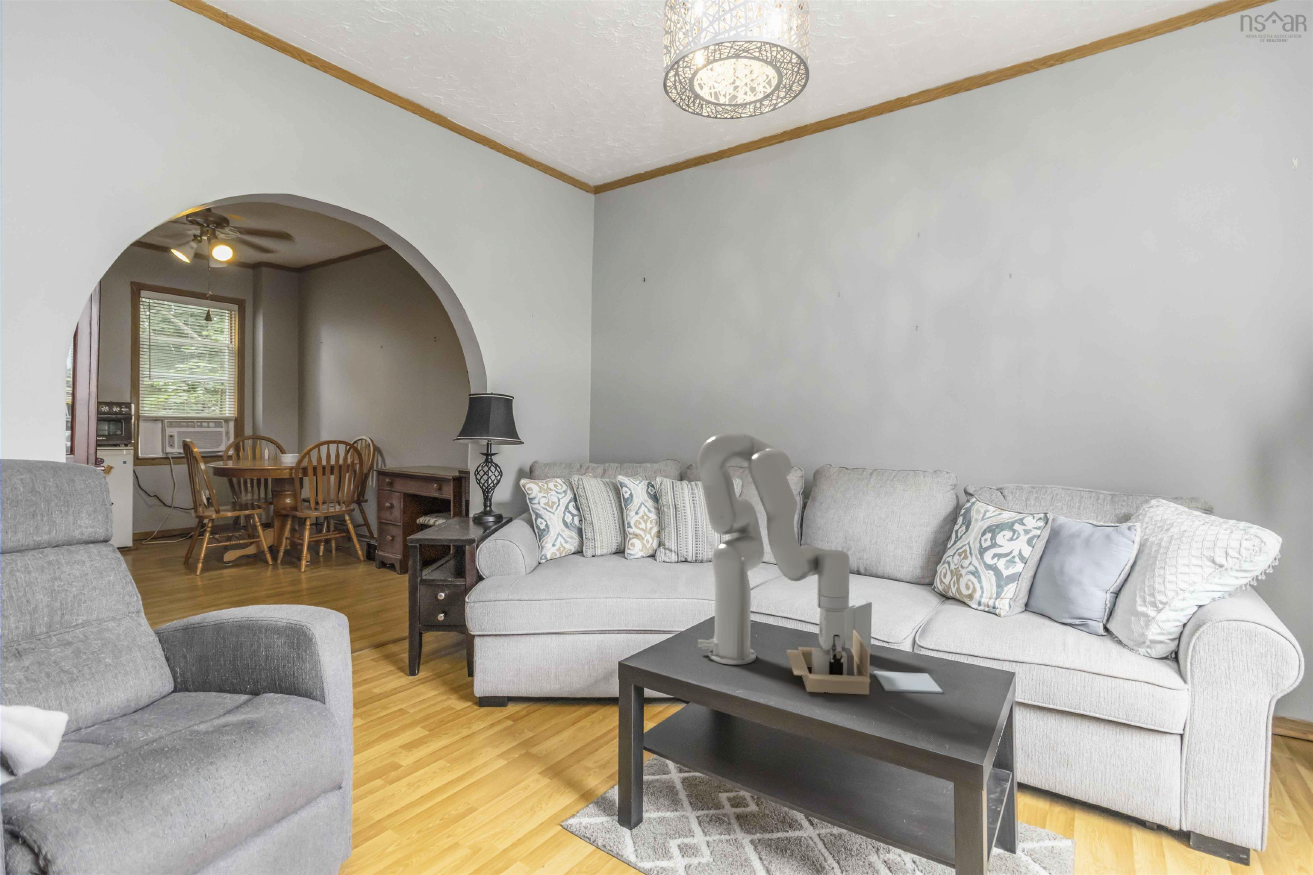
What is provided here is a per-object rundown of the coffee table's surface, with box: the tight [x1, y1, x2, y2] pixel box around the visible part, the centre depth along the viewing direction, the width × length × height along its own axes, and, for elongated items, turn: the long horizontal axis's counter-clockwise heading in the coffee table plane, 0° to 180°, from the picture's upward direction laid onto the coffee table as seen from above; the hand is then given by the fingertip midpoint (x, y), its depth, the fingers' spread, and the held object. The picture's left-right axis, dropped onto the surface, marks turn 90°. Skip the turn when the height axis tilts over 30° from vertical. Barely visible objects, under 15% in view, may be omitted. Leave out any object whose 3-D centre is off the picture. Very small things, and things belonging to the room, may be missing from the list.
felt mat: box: [873, 670, 943, 694], centre depth 160 cm, size 13×11×1 cm
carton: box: [786, 630, 871, 695], centre depth 162 cm, size 17×21×10 cm
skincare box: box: [845, 596, 873, 655], centre depth 179 cm, size 8×6×15 cm
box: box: [811, 647, 855, 676], centre depth 162 cm, size 9×5×7 cm, turn 85°
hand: (832, 670), depth 162 cm, fingers open, 9 cm apart
